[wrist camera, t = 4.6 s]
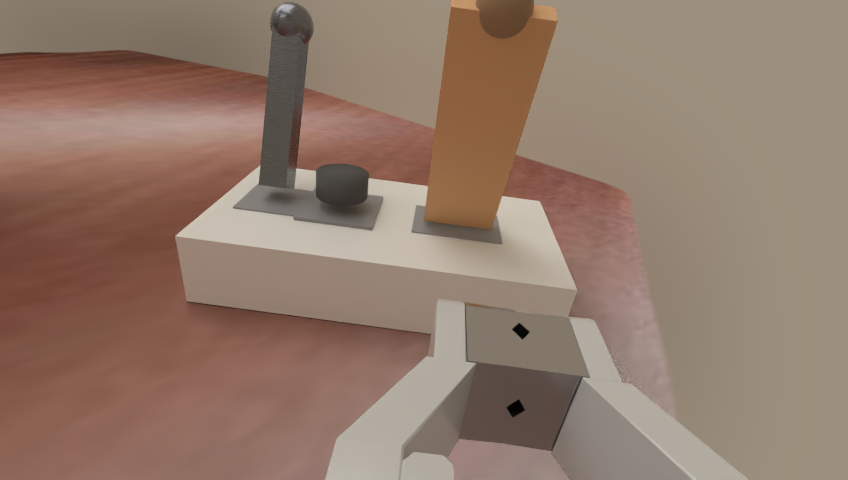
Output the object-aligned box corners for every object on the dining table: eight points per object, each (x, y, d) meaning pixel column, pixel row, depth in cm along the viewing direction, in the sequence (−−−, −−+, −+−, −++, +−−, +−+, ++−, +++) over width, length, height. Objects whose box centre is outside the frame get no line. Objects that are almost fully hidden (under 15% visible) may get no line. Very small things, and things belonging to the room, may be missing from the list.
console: (186, 301, 23) (174, 232, 21) (265, 214, 33) (261, 161, 31) (555, 350, 23) (578, 286, 21) (526, 249, 33) (540, 198, 31)
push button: (309, 201, 25) (309, 178, 24) (323, 182, 27) (323, 161, 27) (362, 209, 25) (363, 185, 24) (371, 188, 27) (372, 167, 27)
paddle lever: (422, 227, 25) (454, -21, 15) (426, 200, 27) (457, -43, 16) (491, 236, 25) (569, -5, 15) (491, 208, 27) (562, -29, 16)
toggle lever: (248, 183, 25) (265, -9, 24) (264, 184, 27) (280, 9, 26) (290, 189, 25) (309, -3, 24) (302, 189, 27) (320, 14, 26)
